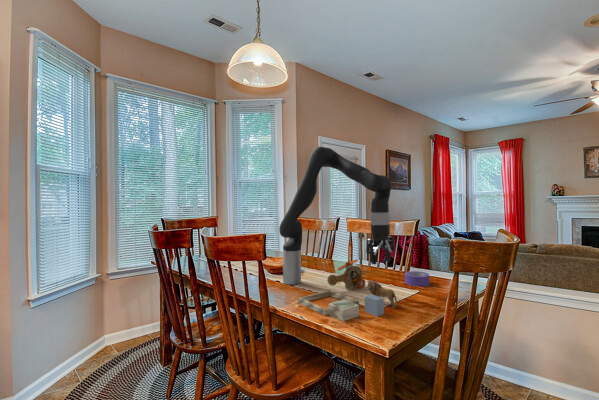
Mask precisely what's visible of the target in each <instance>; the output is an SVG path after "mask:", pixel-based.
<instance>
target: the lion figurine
mask: <svg viewBox="0 0 599 400" xmlns="http://www.w3.org/2000/svg"><path fill="white" fill-rule="evenodd" d="M366 289H367V291H369V293H371V294H372V295H375V296H378V297H381V298H387V299H388V300H389V302H390V306H391V308H392V309H395V308H396V305H397V306H398V307H400V308H402V305H401V304H399V302H398V300H397V296H396V294H395V291H394V290H393V289H392V288H391V289H390V288H384V287H383V286H382V285H381V284H380V283H378V282H377V281H376V280H372V279H370V280H369V281H367V285H366Z"/></svg>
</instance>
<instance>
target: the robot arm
mask: <svg viewBox="0 0 599 400" xmlns="http://www.w3.org/2000/svg"><path fill="white" fill-rule="evenodd" d="M327 167H328V168H331V169H336V170H338V171H339V172H340V173H342V174H343V175H344V176H346V177H347V178H349V179H350V180H352V181H354V182H357V183H358V184H360V185H361V186H363V187H364V188H366V189H368V190H369V191H371V192H374V193H375V194H374V198H373V199H371V203H370V234H371V236H372V238H366V248H365V249H366V250H365V252H366V254H369V255H370V263H371V264H372V265H377V253H378V251H380V249H383V250H384V251H385V252H384V257H385V259H384V260H385V262H388V263H389V262H391V260H392V254H391V253H392V252H393V251H395V237H394V236H391V235H390V234H391V232H390V231H391V230H390V228H391V227H390V226H391V225H390V212H389V200H390V196H391V189H392V184H391V180H390V179H389V177H388V176H387V175H381V174H376V173H373V172H372V171H370V169H368V168H366V167H365V166H363V165H360V164H358V163H355V162H353V161H351V160H349V159H347V158H345V157H343V156H342V155H340V154H339V153H338V152H336V151H335V150H334V149H332V148H330V147H325V146H317V147H315V148H314V149H313V150H312V152H311V154H310V157H309V159H308V163H307V167H306V169H305V172H304V174H303V177H302V180H301V182H300V184H299V186H298V188H297V190H296V192H295V195H294V197H293V199H292V202H291V204H290V206H289V208H288V210H287V212H286V213H285V215H284V217H283V218H282V221H281V223H280V225H279V234H280V236H281V237H282V238H285V239H287V238H288V240H287V241H286V242H285V243H284V244H283V245H282V246H283V247H282V251H283V253H282V254H283V255H282V257H283V258H282V259H283V261H282V263H283V264H282V278H283V279H282V281H283V284H285V285H293V286H294V285H300V284H302V262H301V261H302V260H301V259H302V258H301V257H302V253H301V247H302V243H303V226H302V222H301V221H300V220H299V217H300V216H301V215H302V214H303V213H304V212H305V211H306V210H308V208H309V207H310V206H311V205H312V203H313V201H314V200H315V199H314V198H315V197H316V195H317V190H318V188H317V187H318V186H317V185H318V183H317V180H318V175H319V173H320V172H321V170H322V168H327Z"/></svg>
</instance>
